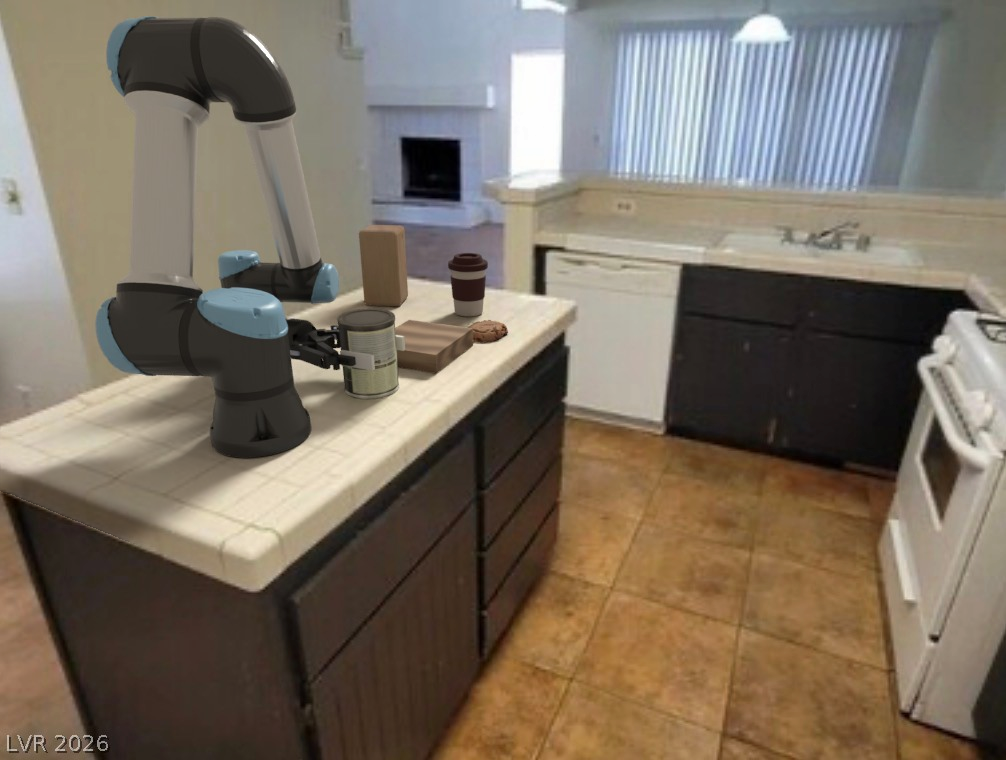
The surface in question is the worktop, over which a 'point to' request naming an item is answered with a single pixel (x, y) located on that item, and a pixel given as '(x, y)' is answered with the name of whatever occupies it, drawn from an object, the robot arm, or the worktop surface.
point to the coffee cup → (468, 283)
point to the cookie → (488, 330)
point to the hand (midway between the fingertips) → (389, 352)
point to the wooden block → (383, 265)
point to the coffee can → (370, 352)
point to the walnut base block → (431, 345)
